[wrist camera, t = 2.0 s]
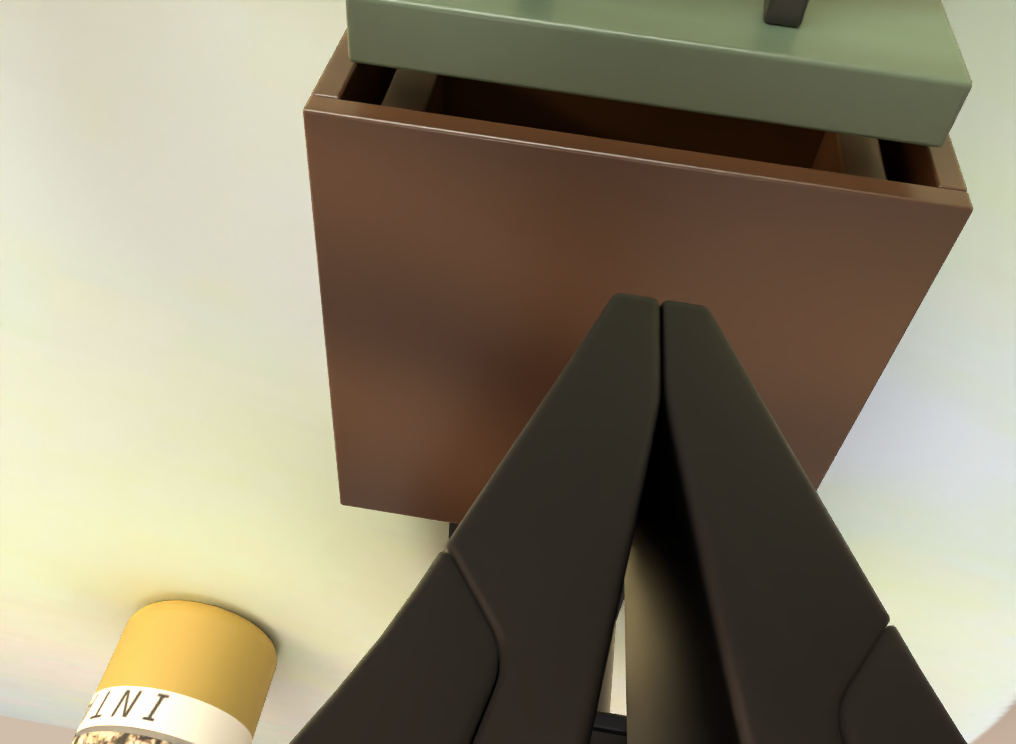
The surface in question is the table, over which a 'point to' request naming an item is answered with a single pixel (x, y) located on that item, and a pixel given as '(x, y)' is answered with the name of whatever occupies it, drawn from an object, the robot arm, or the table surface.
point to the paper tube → (182, 679)
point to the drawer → (681, 71)
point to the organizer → (586, 277)
